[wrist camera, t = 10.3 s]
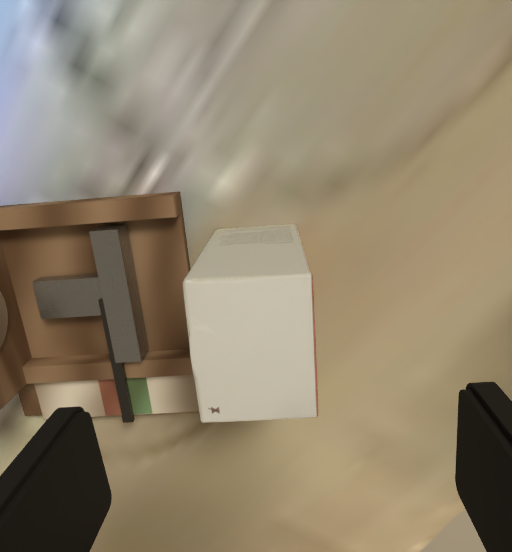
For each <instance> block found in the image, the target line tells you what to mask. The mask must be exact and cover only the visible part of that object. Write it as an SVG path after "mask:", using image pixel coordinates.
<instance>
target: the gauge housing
mask: <svg viewBox="0 0 512 552" xmlns="http://www.w3.org/2000/svg"><path fill="white" fill-rule="evenodd" d="M118 224H127V225H128V231H129V237H130V243H131V248H132V254H133V260H134V266H135V271H136V277H137V283H138V289H139V294H140V300H141V306H142V312H143V317H144V323H145V329H146V335H147V340H148V346H149V349H148V351H147V353H146V354H145V356H144V358H143V359H142V361H141V362H124V368H125V373H126V378H127V383H128V388H129V393H130V398H131V403H132V408H133V414H134V415H137V414H158V413H179V412H199V405H198V399H197V392H196V385H195V380H194V375H193V371H192V364H191V357H190V346H189V336H188V328H187V319H186V311H185V302H184V293H183V281H184V279H185V277H186V276H187V274H188V273H189V271H190V263H189V256H188V248H187V241H186V233H185V226H184V218H183V211H182V204H181V196H180V192H170V193H158V194H145V195H133V196H120V197H107V198H95V199H82V200H70V201H57V202H45V203H32V204H19V205H7V206H0V409H1V408H2V407H3V406H4V405H5V404H7V403H8V402H9V401H10V400H11V399H12V398H13V397H14V396H15V395H16V394H17V393H19V396H20V400H21V403H22V407H23V410H24V414H25V416H30V415H43V418H44V419H48V418H49V417H50V416H51V415H52V413H53V412H54V411H55V410H56V409H57V408H61V407H78V406H80V407H82V408H83V409H84V411H85V412H89V413H90V415H91V417H95V416H116V415H122V414H121V409H120V404H119V399H118V394H117V390H116V385H115V380H114V375H113V370H112V365H111V360H110V355H109V351H108V346H107V341H106V336H105V331H104V326H103V321H102V317H101V315H99V316H83V317H67V318H50V319H41V317H40V313H39V309H38V305H37V301H36V297H35V293H34V289H33V285H32V282H33V281H34V280H36V279H38V278H39V277H48V276H63V275H77V274H92V273H97V268H96V263H95V258H94V254H93V249H92V244H91V239H90V234H89V231H91V230H93V229H95V228H97V227H99V226H104V225H118Z"/></svg>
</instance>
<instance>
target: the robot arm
mask: <svg viewBox="0 0 512 552" xmlns="http://www.w3.org/2000/svg"><path fill="white" fill-rule="evenodd" d="M455 481H456V487H457V491H458V494H459V496H460V498H461V500H462V502H463V504H464V506H465V509H466V511H467V513H468V515H469V517H470V518H471V521H472V523H473V525H474V527H475V529H476V531H477V533H478V535H479V537H480V539H481V541H482V543H483V545H484V547H485V549H486V551H487V552H512V401H511V400H510V399H509V398H508V397H507V395H506V394H505V393H504V392H503V391H502V390H501V389H500V387H499V386H498V385H497V384H496V383H495V382H480V383H469V384H467V386H466V390H460V392H459V402H458V427H457V451H456V475H455ZM110 505H111V490H110V486H109V483H108V479H107V475H106V471H105V467H104V464H103V460H102V456H101V452H100V448H99V445H98V441H97V437H96V433H95V430H94V426H93V422H92V418H91V415H90V413H89V412H85V411H84V409H83V408H82V407H80V406H78V407H61V408H57V409H56V410H55V411H54V412H53V413H52V415H51V416H50V417H49V418H48V419H47V421H46V422H45V423H44V424H43V425H42V427H41V428H40V429H39V430H38V431H37V433H36V434H35V435H34V436H33V437H32V439H31V440H30V441H29V442H28V443H27V445H26V446H25V447H24V448H23V450H22V451H21V452H20V453H19V454H18V456H17V457H16V458H15V459H14V460H13V462H12V463H11V464H10V465H9V466H8V468H7V469H6V470H5V471H4V472H3V474H2V475H1V476H0V552H89V551H90V549H91V547H92V545H93V543H94V541H95V538H96V536H97V534H98V532H99V530H100V528H101V526H102V523H103V521H104V519H105V517H106V515H107V513H108V511H109V508H110Z"/></svg>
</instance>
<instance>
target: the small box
mask: <svg viewBox="0 0 512 552" xmlns="http://www.w3.org/2000/svg"><path fill="white" fill-rule="evenodd" d="M183 293H184V302H185V311H186V319H187V328H188V336H189V346H190V357H191V364H192V371H193V375H194V380H195V385H196V392H197V399H198V405H199V412H200V419H201V422H202V423H208V422H235V421H257V420H275V419H296V418H315V417H317V416H318V392H317V366H316V340H315V320H314V295H313V277H312V273H311V271H310V268H309V265H308V262H307V258H306V255H305V252H304V249H303V246H302V242H301V239H300V236H299V232H298V229H297V226H296V224H290V225H276V226H261V227H246V228H230V229H217V230H215V232H214V233H213V235H212V237H211V238H210V240H209V241H208V243H207V244H206V246H205V248H204V249H203V251H202V252H201V254H200V255H199V257H198V259H197V260H196V262H195V263H194V265H193V267H192V268H191V270H190V271H189V273H188V274H187V276H186V277H185V279H184V281H183Z"/></svg>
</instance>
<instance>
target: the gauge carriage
mask: <svg viewBox="0 0 512 552" xmlns="http://www.w3.org/2000/svg"><path fill="white" fill-rule="evenodd" d="M89 234H90V239H91V244H92V249H93V254H94V258H95V263H96V268H97V273H92V274H77V275H63V276H48V277H39V278H38V279H36V280H34V281H33V282H32V285H33V289H34V293H35V297H36V301H37V305H38V309H39V313H40V317H41V319H50V318H67V317H83V316H99V315H101V317H102V321H103V326H104V331H105V336H106V341H107V346H108V351H109V355H110V360H111V365H112V370H113V375H114V380H115V385H116V390H117V394H118V399H119V404H120V409H121V414H122V419H123V422H133V421H134V414H133V408H132V403H131V398H130V393H129V388H128V383H127V378H126V373H125V368H124V362H141V361H142V359H143V358H144V356H145V354H146V353H147V351H148V349H149V346H148V340H147V335H146V329H145V323H144V317H143V312H142V306H141V300H140V294H139V289H138V283H137V277H136V271H135V266H134V260H133V254H132V248H131V243H130V237H129V231H128V225H127V224H118V225H104V226H99V227H97V228H95V229H93V230H91V231H89Z"/></svg>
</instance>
